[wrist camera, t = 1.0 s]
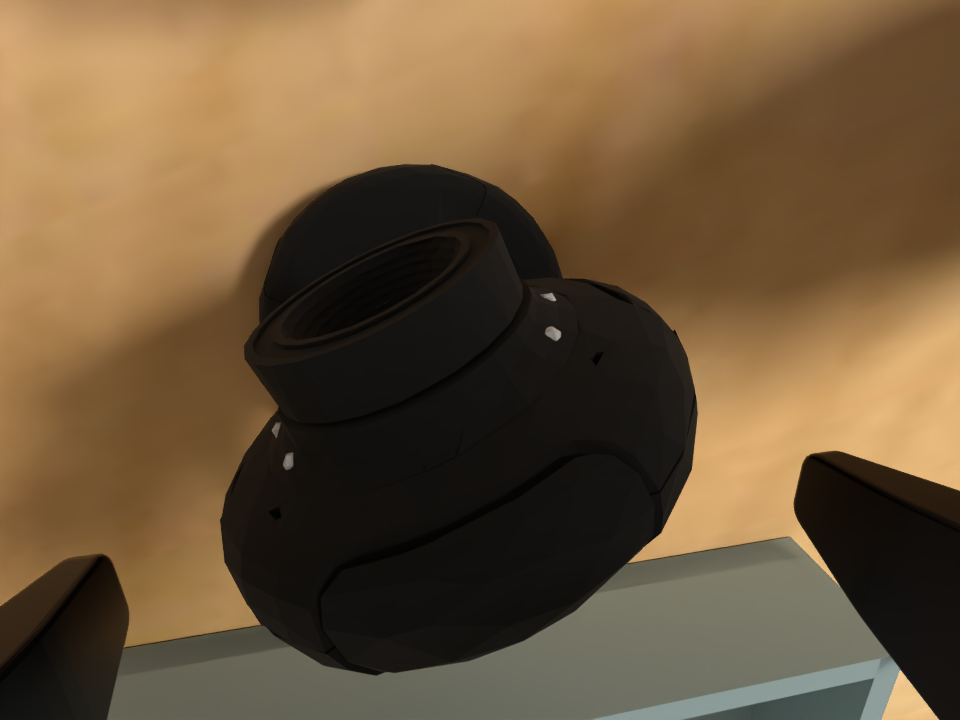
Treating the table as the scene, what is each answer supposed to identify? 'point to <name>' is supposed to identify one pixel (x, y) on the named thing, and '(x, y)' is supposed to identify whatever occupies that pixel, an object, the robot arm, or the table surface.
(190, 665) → the tote
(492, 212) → the webcam
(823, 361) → the table surface
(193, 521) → the table surface
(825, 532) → the robot arm
